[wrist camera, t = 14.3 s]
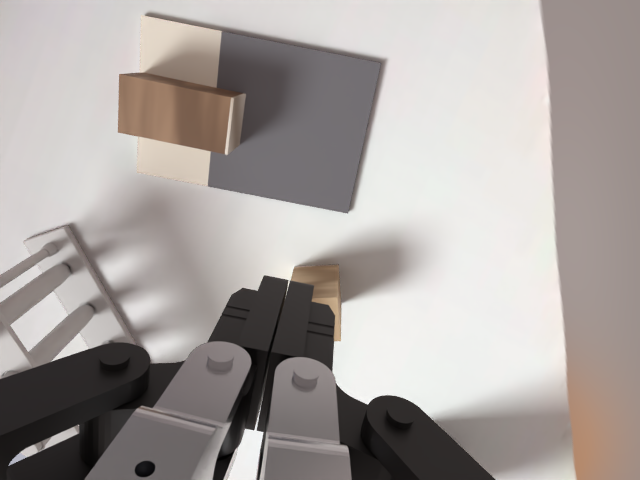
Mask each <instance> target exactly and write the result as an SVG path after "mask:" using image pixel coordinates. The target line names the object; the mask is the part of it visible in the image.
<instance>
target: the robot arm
mask: <svg viewBox="0 0 640 480" xmlns="http://www.w3.org/2000/svg"><path fill="white" fill-rule="evenodd" d="M287 286H288V280H285V279H280V278H275V277H270V276H265V275H264V277H263V279H262V282H261V284H260V287H259V289H258V291H255V290H250V289H245V288H242V289H240V290H239V291H237V292H236V293H234V294H233V295H231V297H230V299H229V301H228V303H227V305H226V307H225V309H224V311H223V313H222V316H221V317H220V319H219V321H218V323H217V325H216V327H215V329H214V331H213V333H212V335H211V337H210V339H209V340H208V342H207V343H205V344H202V345H200V346H198V347H196V348H195V349H194V350H193V351H192V352H191V353H190V355H189V356H188V358H187V359H186V360H185V361H182V362H176V363H159V364H150V357H149V354H148V353H147V352H146V351H145V350H144V349H143V348H141V347H139V346H137V345H134V344H130V343H124V342H116V343H108V344H103V345H100V346H97V347H94V348H91V349H88V350H85V351H82V352H79V353H76V354H73V355H70V356H67V357H64V358H61V359H58V360H55V361H52V362H49V363H46V364H43V365H40V366H37V367H34V368H31V369H28V370H26V371H23V372H20V373H17V374H14V375H11V376H8V377H5V378H2V379H0V480H227V479H228V476H229V474H230V471H231V469H232V466H233V463H234V461H235V458H236V455H237V449H238V446H239V444H240V443H241V440H242V437H243V433H244V430H245V429H250V430H254V429H255V425H256V421H257V417H258V413H259V409H260V406H261V411H260V416H259V422H258V427H257V431H261V432H264V433H263V438H262V444H261V449H260V454H259V460H258V466H257V473H256V480H495V479H494V478H493V477H492V476H491V475H490V474H489V473H488V472H487V471H486V470H485V469H484V468H483V467H481V466H480V465H479V464H478V463H477V462H476V461H475V460H474V459H473V458H472V457H471V456H470V455H469V454H468V453H467V452H466V451H465V450H464V449H462V448H461V447H460V446H459V445H458V444H457V443H456V442H455V441H454V440H453V439H452V438H451V437H450V436H449V435H448V434H447V433H446V432H445V431H443V430H442V429H441V428H440V427H439V426H438V425H437V424H436V423H435V422H434V421H433V420H432V419H431V418H430V417H429V416H428V415H427V414H426V413H424V412H423V411H422V410H421V409H420V408H419V407H418V406H416V405H415V404H414V403H412V402H410V401H408V400H406V399H403V398H400V397H397V396H388V395H386V396H380V397H377V398H375V399H373V400H372V401H371V402H370V403H369V404H368V405H367V404H365V403H363V402H360V401H358V400H356V399H354V398H352V397H350V396H349V395H347V394H346V393H345V392H343V391H342V390H341V389H340V388H339V387H338V385H337V384H336V381H335V377H334V374H333V373H332V367H333V349H334V330H335V329H334V327H335V315H334V313H333V311H332V310H331V308H330V306H329V305H326V304H321V303H316V302H312V296H313V290H314V285H311V284H306V283H301V282H296V281H291V280H290V283H289V287H288V291H287ZM286 292H287V295H286ZM285 297H286V298H285ZM262 398H263V400H262ZM261 402H262V405H261ZM77 425H79V434H76V435H74V436H72V437H70V438H68V439H66V440H64V441H61V442H59V443H57V444H55V445H53V446H51V447H48V448H46V449H44V450H42V451H40V452H38V453H36V454H33V455H31V456H29V457H27V458H25V459H23V460H21V461H18V462H16V463H14V464H12V465H10V466H8V465H9V463H10V461H12V459H13V458H14V457H15V456H16V455H17V454H19V453H20V452H21V451H23V450H24V449H26V448H28V447H30V446H32V445H35V444H37V443H39V442H41V441H43V440H46V439H48V438H50V437H52V436H55V435H57V434H59V433H61V432H63V431H66V430H68V429H70V428H72V427H75V426H77Z"/></svg>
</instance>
